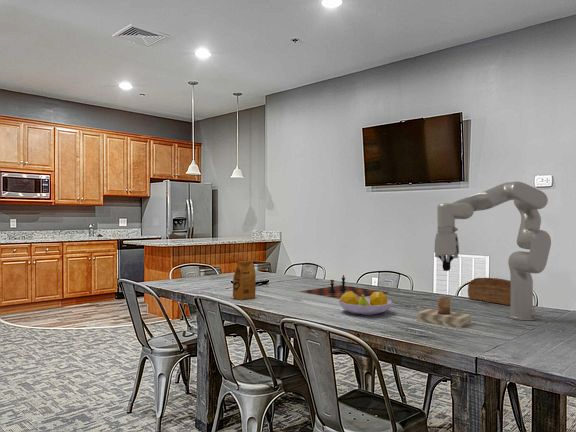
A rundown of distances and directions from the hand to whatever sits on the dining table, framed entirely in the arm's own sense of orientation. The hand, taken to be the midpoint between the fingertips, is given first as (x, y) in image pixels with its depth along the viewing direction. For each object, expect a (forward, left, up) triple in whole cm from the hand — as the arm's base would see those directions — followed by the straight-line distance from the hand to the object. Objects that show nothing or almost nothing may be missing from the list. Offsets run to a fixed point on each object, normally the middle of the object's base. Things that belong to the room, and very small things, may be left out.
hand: (446, 270), depth 214 cm
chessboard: (+85, -35, -24) cm, 95 cm away
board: (0, +2, -23) cm, 23 cm away
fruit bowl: (+38, +10, -24) cm, 46 cm away
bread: (+4, -68, -24) cm, 73 cm away
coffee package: (+112, +25, -24) cm, 117 cm away
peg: (0, +2, -23) cm, 23 cm away
